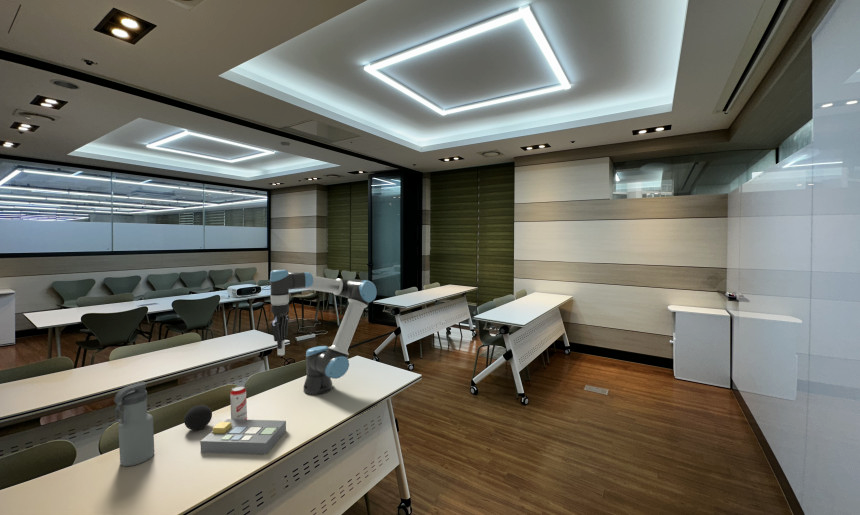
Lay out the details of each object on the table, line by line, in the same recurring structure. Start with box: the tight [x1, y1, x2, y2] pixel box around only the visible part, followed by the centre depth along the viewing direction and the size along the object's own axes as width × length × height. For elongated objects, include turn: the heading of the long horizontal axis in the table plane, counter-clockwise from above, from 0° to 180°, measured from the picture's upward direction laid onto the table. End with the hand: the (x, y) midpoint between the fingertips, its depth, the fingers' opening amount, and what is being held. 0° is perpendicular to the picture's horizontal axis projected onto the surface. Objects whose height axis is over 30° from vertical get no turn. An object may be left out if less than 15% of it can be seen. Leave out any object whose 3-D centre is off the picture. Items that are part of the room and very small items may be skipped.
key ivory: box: [244, 427, 262, 435], centre depth 137 cm, size 5×5×2 cm
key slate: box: [229, 427, 247, 434], centre depth 138 cm, size 5×5×2 cm
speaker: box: [183, 404, 213, 431], centre depth 147 cm, size 10×10×10 cm
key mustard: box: [212, 421, 231, 434], centre depth 138 cm, size 5×5×2 cm
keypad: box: [199, 418, 287, 455], centre depth 138 cm, size 16×26×5 cm, turn 87°
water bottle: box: [114, 381, 155, 467], centre depth 126 cm, size 10×10×28 cm
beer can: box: [229, 385, 248, 420], centre depth 151 cm, size 6×6×16 cm
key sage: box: [260, 427, 277, 435], centre depth 137 cm, size 5×5×2 cm
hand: (281, 354), depth 155 cm, fingers closed
